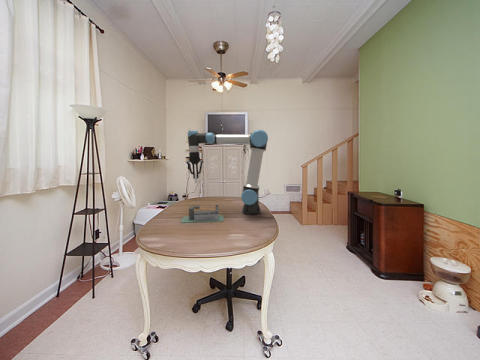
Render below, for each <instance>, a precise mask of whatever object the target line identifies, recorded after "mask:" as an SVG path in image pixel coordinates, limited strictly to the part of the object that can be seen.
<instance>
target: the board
mask: <svg viewBox="0 0 480 360" xmlns="http://www.w3.org/2000/svg"><path fill="white" fill-rule="evenodd" d="M180 220H181V221H179V223H180V224H186V223H187V224H188V223H189V224H190V223H214V222H215V223H216V222H218V223H219V222H224V215H223V214H221V215H220V214H219V220H214V221H194V220H189V216H183V217H182V219H180Z"/></svg>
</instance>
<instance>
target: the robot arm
mask: <svg viewBox="0 0 480 360" xmlns="http://www.w3.org/2000/svg"><path fill="white" fill-rule="evenodd" d="M187 139H188V140H187V141H188V151H189V153H188V154H189V155H188V156H189V158H188V160H187V161H186V164H187V166H188V170H189V173H190V174H191V175H192V176H193V180H194V184H198V179H199V175H200V174H201V172H202V166H203V164H204V160H202V159H201V156H200V144H209V145H248V146H249V149H250V150H251V151H250V157H249V163H248V170H247V176H246V182H245V183H244V184H243V187H242V193H241V195H240V197H241V201H242V202H243V206H242V211H241V212H242V214H244V215H247V216H255V215H260V214H261V213H262V211H261V206H260V203H259V201H260V200H259V191H260V186H259V180H260V179H259V178H260V173H261V168H262V163H263V155H264V152H266V150H267V146H268V140H269V136H268V133H267V132H266V131H265V130H263V129H256V130H254V131H253V132H251V133H248V134H224V133H223V134H217V133H216V134H214V132H201V133H200V132H199V130H188V132H187ZM199 163H200V164H199ZM191 164H192V166H191ZM195 169H196V170H195Z"/></svg>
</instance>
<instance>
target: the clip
mask: <svg viewBox="0 0 480 360" xmlns="http://www.w3.org/2000/svg"><path fill="white" fill-rule="evenodd" d="M195 208H201V205H193V206H189V208H188V217H189V220H194V213H195Z"/></svg>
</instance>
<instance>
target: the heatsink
mask: <svg viewBox="0 0 480 360" xmlns="http://www.w3.org/2000/svg"><path fill="white" fill-rule="evenodd" d="M214 208H215V209H216V211H213V210H194V221H214V220H219V215H220V212H219V205H218V204H216V205H215V207H214Z"/></svg>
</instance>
